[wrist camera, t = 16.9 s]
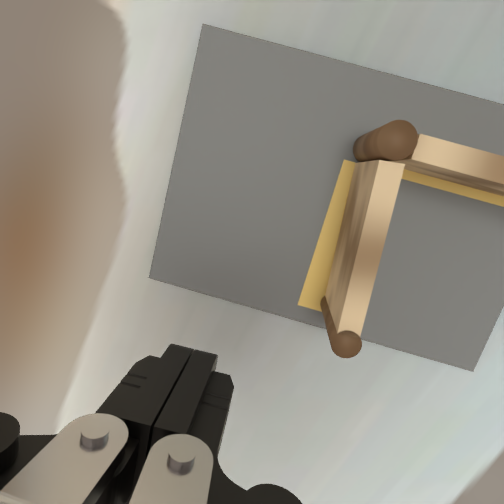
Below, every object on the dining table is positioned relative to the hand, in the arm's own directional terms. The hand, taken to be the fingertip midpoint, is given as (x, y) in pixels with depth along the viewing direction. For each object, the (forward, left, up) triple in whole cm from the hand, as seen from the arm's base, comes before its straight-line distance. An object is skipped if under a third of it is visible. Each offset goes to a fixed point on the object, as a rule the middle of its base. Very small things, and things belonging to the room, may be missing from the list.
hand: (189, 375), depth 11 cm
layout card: (-6, -5, -15) cm, 17 cm away
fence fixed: (-11, -9, -14) cm, 21 cm away
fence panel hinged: (-6, -3, -14) cm, 16 cm away
